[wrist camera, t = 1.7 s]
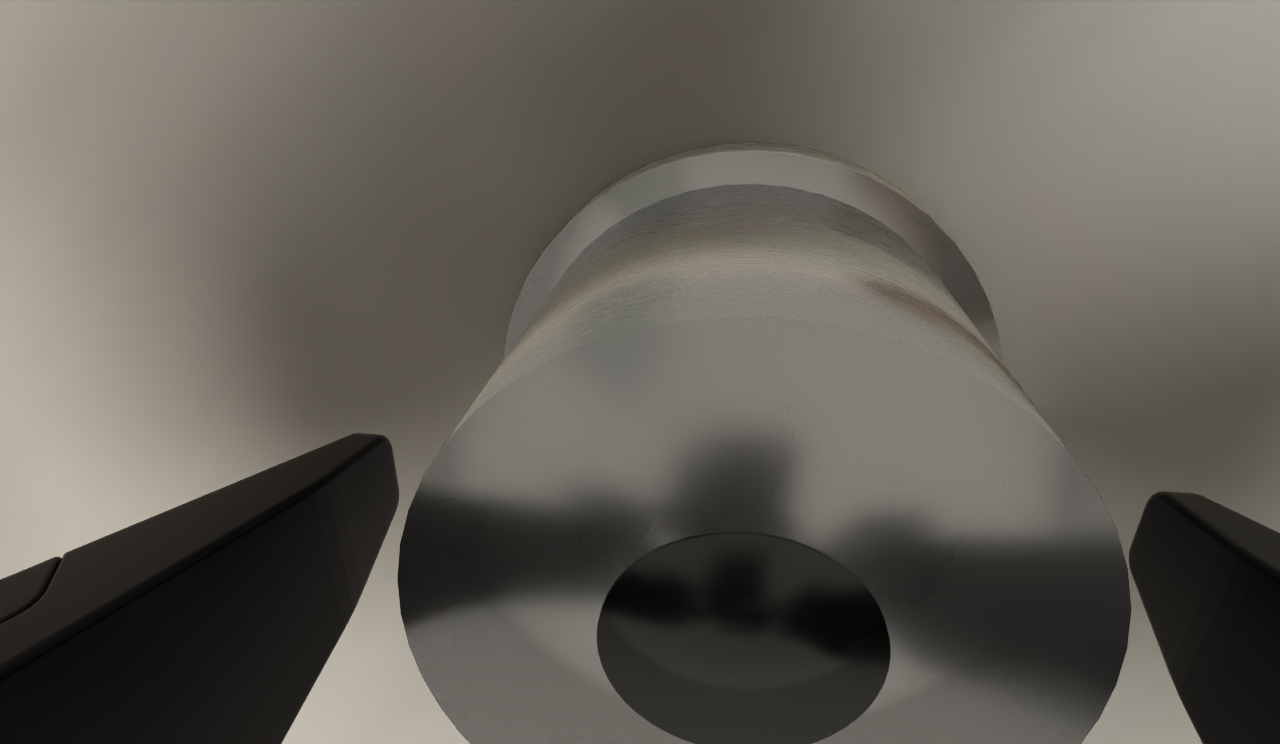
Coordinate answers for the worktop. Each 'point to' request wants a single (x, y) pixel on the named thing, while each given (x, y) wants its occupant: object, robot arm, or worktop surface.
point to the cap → (759, 487)
